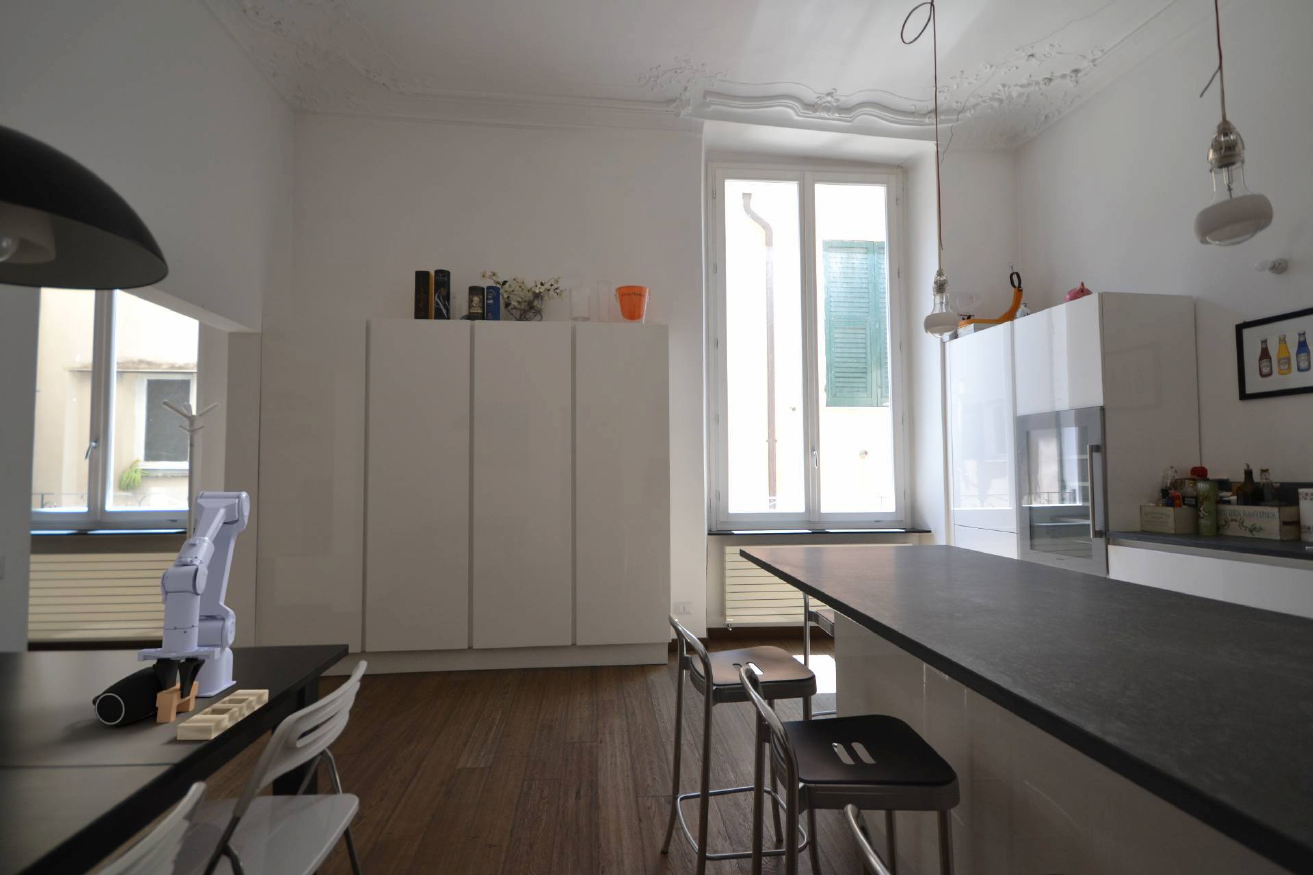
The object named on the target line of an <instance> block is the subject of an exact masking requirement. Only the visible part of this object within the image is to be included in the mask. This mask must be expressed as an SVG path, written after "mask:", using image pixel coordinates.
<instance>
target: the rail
mask: <svg viewBox="0 0 1313 875" xmlns="http://www.w3.org/2000/svg"><path fill="white" fill-rule="evenodd" d="M267 703H269V689H238V690H236V691H235V692H232V693H231V694H229V695H228V696H226V697H224V698H223V699H221V700H219V701H217V702H215V703H214V704H212V705H210V706H208V707H207V708H204V709H203V710H201V711H200V712H198V713H197V714H195V715H194V716H192V717H190V718H188V719H186V720H185V721H183V722H181V723H180V724H178V725H177V731H176V732H177V734H176V740H178V741H179V740H183V741H186V740H189V741H190V740H195V741H196V740H214V738H216V737H218V736H219V735H221V734H222V733H223V732H225V731H227V730H228V729H229V728H231V727H232V726H234V725H235V724H237V723H238V722H240V721H241V720H243V719H245V718H246V717H247V716H249V715H251V714H252V713H254V712H255V711H257V710H258V709H260V708H262V707H263V706H265V704H267Z"/></svg>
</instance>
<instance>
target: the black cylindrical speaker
mask: <svg viewBox="0 0 1313 875" xmlns="http://www.w3.org/2000/svg"><path fill="white" fill-rule="evenodd" d="M162 691H163V690H162V686H161V683H160V681H159V678H158V676H157V675H156V673H155V671H154V670H153V669H152V665H151V666H148V667H144V668H142V669H140V670H138V671H135V672H133V673H131V674H129V675H127V676H125V677H124V678H122V679H120V680H118V681H116V682H115V683H113V684H112V685H110V686H109V687H107V688H106V689H105V690H104V691H102V692H101V693H100V694H97V695H96V696H94V697H93V699H92V701H91V702H92V706H93V707H94V712H95V715H96V717H97V718H98V720H99V721H100V722H101V724H104V725H107V726H112V727H113V726H114V727H115V726H122V725H127V724H129V723H132V722H136V721H138V720H141V719H143V718H146V717H149V716H151V715H153V714H155V713H158V707H156V703H157V694H158V693H160V692H162Z"/></svg>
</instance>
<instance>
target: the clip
mask: <svg viewBox="0 0 1313 875" xmlns="http://www.w3.org/2000/svg"><path fill="white" fill-rule="evenodd" d="M180 692H181V691H180V682H178V683H176V686H174V687H172V688H170V689H168V690H164V691H162V692H160V693H158V694H157V703H156V707H158V712H157V714H156V716H157V717H156V723H172V722H174V721H175V720H176V716H177V712H191V711H192V710H194V709H195V701H196V700H195V699H196V697H195V695H197V692H198V682H196V681H194V684H193V686H192V689H191V693H190V696H188V697H186V698H184V699H181V697H180Z"/></svg>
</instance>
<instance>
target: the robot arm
mask: <svg viewBox="0 0 1313 875" xmlns="http://www.w3.org/2000/svg"><path fill="white" fill-rule="evenodd" d="M250 501H251V500H250V496H249V494H248V493H247V492H246V491H205V490H203V491H200V492H199V493H198V494H197V495H196V496H195V500H194V514H195V515H196V520H197V523H196V526H195V529H194V532H193V536H192V537H190V538H188V539H186V540H185V541H184V542H183V544H182V546H181V547H180V548H181V549H180V550H179V553H178V554H177V556H176V558H175V561H174V563H173V565H172V566H170V567H169V568H166V569H165V570H164V571H163V573H162V575H161V580H160V592H161V596H162V597H161V598H162V600H161V602H162V605H164V612H163V614H164V615H163V629H162V644H161V645H162V647H161V648H144V649H141V650H138V652H137V662H144V661H155V663H153V664H152V665H151V666H152V669H153V670H154V671H155V673H156V675H157V676H158V678H159V681H160V683H161V686H162V690H163V691H164V690H168V689H170V688H172V687H174V686H176V684H177V679H178V678H177V676H178V675H179V683H180V691H181V692H180V697H181V699H184V698H186V697H188V696H190V693H191V689H192V686H193V684H194V681H196V682H198V692H197V695H195V698H196V697H199V698H200V697H213V696H215V695H217V694H219V693H220V692H223V691H224V690H226V689H228V688H230V687H232V686H234V685H236V683H237V680H233V663H234V661H233V660H234V655H233V652H232V650H231V649H230V646H231V645H232V644H233V642H234V640H235V636H236V618H237V617H236V614H235V611H233V610H232V609H231V608H229V607H228V606H227V605H225V600H226V593H227V587H228V581H229V577H230V571H231V565H232V560H233V554H234V549H235V544H236V541H237V540H236V539H237V536H238V533H241V532H242V531H244V530H246V527H247V524H248V520H249V516H250V515H249V514H250V509H251V505H250ZM182 660H183V661H182Z"/></svg>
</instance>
